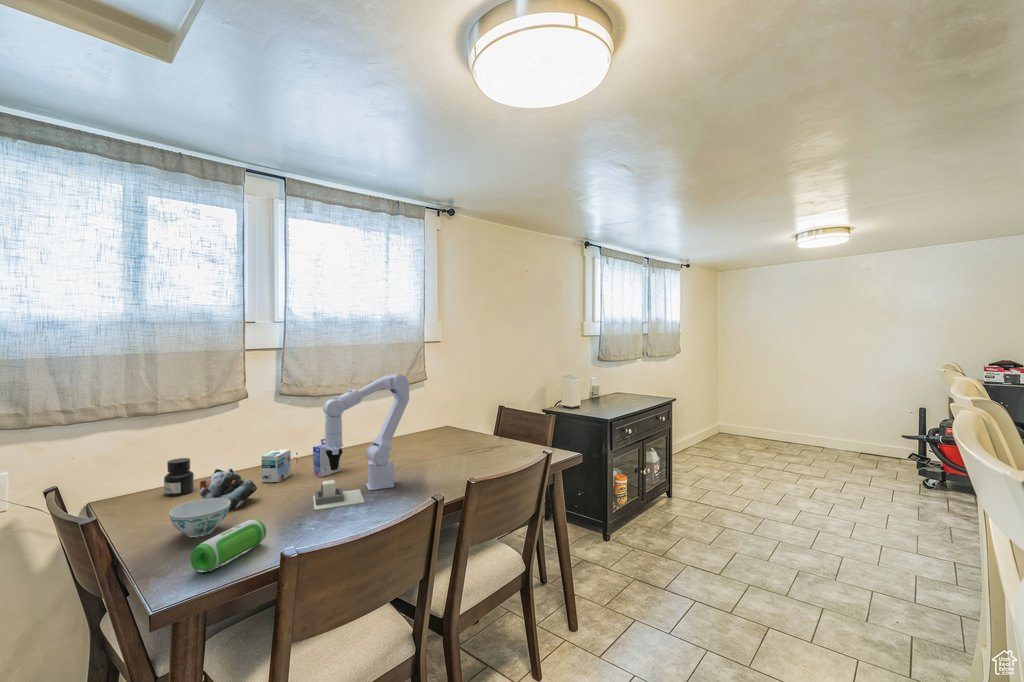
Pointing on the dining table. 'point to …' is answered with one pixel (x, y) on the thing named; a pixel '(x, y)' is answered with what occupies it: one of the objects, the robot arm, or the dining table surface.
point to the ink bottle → (178, 477)
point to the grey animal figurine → (227, 487)
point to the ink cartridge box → (322, 461)
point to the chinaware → (199, 515)
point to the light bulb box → (276, 465)
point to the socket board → (337, 499)
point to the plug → (328, 488)
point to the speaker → (227, 545)
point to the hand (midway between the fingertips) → (334, 469)
